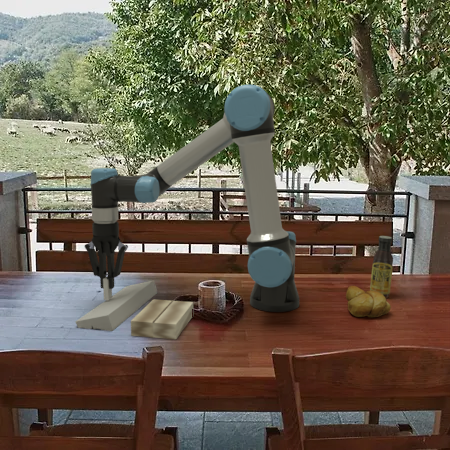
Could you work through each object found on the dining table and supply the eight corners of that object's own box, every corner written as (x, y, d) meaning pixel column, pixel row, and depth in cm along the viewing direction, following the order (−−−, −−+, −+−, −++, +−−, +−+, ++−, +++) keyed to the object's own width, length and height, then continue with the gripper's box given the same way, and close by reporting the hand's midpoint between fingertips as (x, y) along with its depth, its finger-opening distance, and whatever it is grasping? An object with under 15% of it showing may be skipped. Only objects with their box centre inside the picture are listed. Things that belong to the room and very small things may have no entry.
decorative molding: (80, 338, 137) (113, 332, 135) (75, 321, 137) (108, 315, 134) (130, 299, 170) (157, 294, 168) (126, 286, 170) (154, 280, 167)
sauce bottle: (368, 298, 164) (372, 237, 161) (370, 292, 170) (374, 234, 167) (389, 300, 162) (394, 239, 159) (391, 295, 168) (395, 235, 164)
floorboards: (193, 315, 147) (193, 301, 146) (176, 339, 130) (175, 323, 129) (153, 312, 149) (153, 298, 148) (131, 335, 132) (130, 319, 131)
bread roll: (386, 309, 154) (388, 284, 153) (395, 321, 144) (397, 293, 143) (343, 308, 155) (344, 283, 153) (349, 320, 145) (351, 292, 144)
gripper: (131, 220, 152) (133, 296, 156) (90, 218, 154) (93, 293, 158) (121, 224, 145) (123, 304, 149) (78, 222, 147) (82, 301, 151)
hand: (107, 298), depth 153 cm, fingers closed
